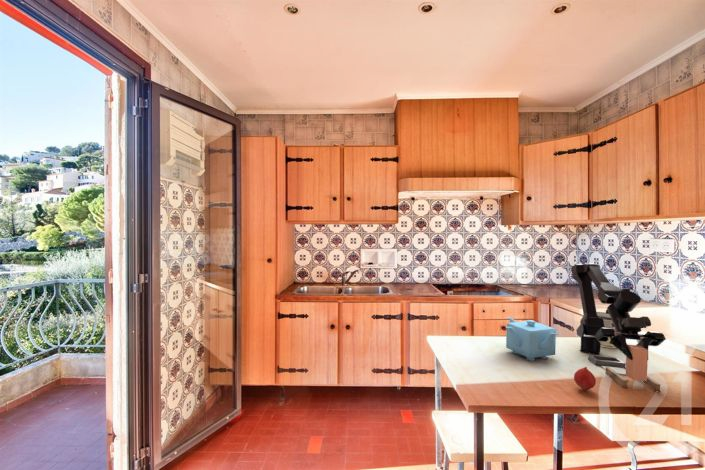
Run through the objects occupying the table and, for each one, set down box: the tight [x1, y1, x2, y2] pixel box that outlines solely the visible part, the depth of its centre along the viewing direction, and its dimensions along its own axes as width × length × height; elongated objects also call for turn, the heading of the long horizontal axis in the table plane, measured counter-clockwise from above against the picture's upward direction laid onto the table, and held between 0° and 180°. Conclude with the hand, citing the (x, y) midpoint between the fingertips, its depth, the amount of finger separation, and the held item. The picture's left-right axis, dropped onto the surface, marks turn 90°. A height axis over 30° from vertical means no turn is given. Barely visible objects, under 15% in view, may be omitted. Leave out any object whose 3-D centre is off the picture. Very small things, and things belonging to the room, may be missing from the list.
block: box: [625, 344, 649, 382], centre depth 108 cm, size 4×4×10 cm
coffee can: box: [596, 311, 618, 349], centre depth 148 cm, size 10×10×14 cm
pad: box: [600, 366, 627, 376], centre depth 119 cm, size 6×7×1 cm
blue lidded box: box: [505, 316, 559, 362], centre depth 133 cm, size 19×19×15 cm
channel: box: [604, 367, 661, 393], centre depth 110 cm, size 11×10×2 cm
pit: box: [587, 354, 626, 369], centre depth 126 cm, size 6×10×2 cm, turn 76°
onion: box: [573, 366, 597, 392], centre depth 104 cm, size 6×6×8 cm
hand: (639, 360), depth 106 cm, fingers closed on block, 4 cm apart
